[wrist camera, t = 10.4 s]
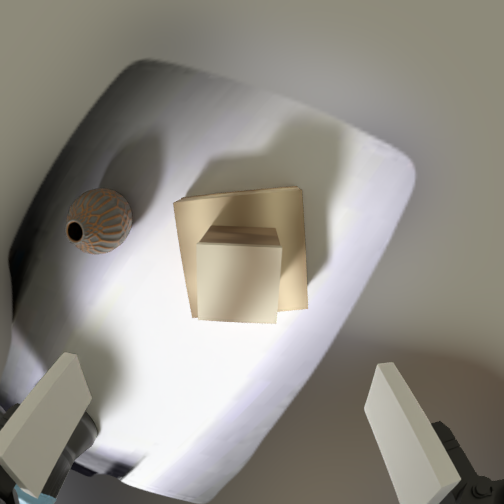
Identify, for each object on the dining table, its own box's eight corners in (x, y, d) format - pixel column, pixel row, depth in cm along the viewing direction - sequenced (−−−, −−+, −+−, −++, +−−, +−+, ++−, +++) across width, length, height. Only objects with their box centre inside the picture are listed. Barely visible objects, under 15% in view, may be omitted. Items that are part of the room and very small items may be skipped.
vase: (137, 182, 32) (100, 190, 23) (143, 242, 34) (111, 267, 25) (86, 188, 32) (43, 198, 23) (93, 244, 34) (54, 268, 25)
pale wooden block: (210, 285, 30) (197, 319, 23) (210, 224, 28) (196, 244, 22) (272, 288, 30) (276, 323, 23) (276, 227, 28) (282, 247, 22)
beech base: (199, 298, 36) (192, 318, 31) (184, 196, 33) (172, 202, 28) (301, 289, 36) (308, 309, 31) (295, 185, 32) (302, 189, 27)
